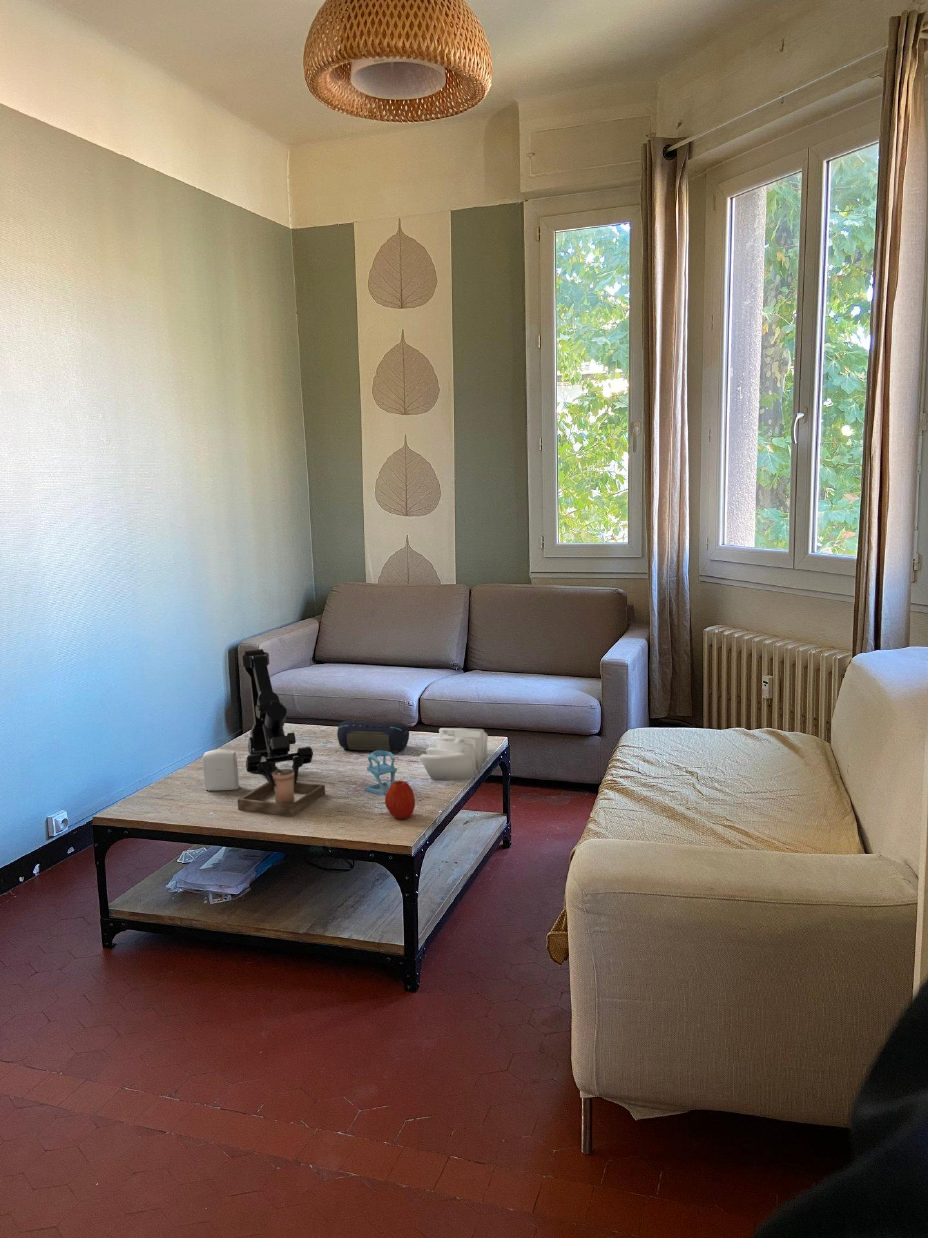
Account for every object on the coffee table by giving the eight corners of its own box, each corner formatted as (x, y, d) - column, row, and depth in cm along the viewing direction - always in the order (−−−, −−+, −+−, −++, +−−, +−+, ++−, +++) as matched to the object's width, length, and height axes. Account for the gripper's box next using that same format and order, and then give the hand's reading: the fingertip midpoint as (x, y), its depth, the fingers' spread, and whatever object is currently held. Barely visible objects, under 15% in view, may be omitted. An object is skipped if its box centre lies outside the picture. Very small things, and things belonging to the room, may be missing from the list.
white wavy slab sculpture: (466, 788, 267) (465, 754, 265) (414, 784, 272) (413, 750, 270) (496, 752, 300) (495, 722, 298) (449, 749, 305) (448, 719, 303)
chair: (378, 797, 261) (377, 758, 259) (364, 790, 268) (362, 751, 266) (401, 791, 265) (399, 753, 263) (386, 784, 272) (385, 746, 270)
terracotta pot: (270, 808, 255) (267, 774, 253) (282, 801, 260) (279, 768, 259) (288, 811, 252) (286, 777, 251) (300, 803, 258) (298, 770, 256)
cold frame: (238, 809, 255) (237, 799, 254) (273, 788, 271) (272, 778, 271) (292, 816, 248) (292, 806, 248) (325, 794, 265) (324, 784, 264)
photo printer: (203, 791, 270) (200, 752, 268) (207, 786, 274) (204, 748, 272) (237, 791, 270) (234, 751, 268) (240, 786, 274) (238, 747, 272)
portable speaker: (333, 752, 305) (331, 724, 303) (343, 744, 314) (342, 716, 313) (403, 756, 299) (402, 727, 297) (412, 747, 308) (411, 719, 307)
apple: (380, 820, 244) (379, 782, 242) (394, 809, 251) (393, 773, 249) (407, 824, 240) (405, 786, 239) (421, 813, 248) (419, 776, 246)
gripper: (244, 728, 253) (253, 777, 244) (309, 719, 260) (320, 767, 251) (242, 747, 261) (250, 795, 253) (305, 738, 268) (315, 785, 260)
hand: (284, 785), depth 254 cm, fingers closed on terracotta pot, 6 cm apart
